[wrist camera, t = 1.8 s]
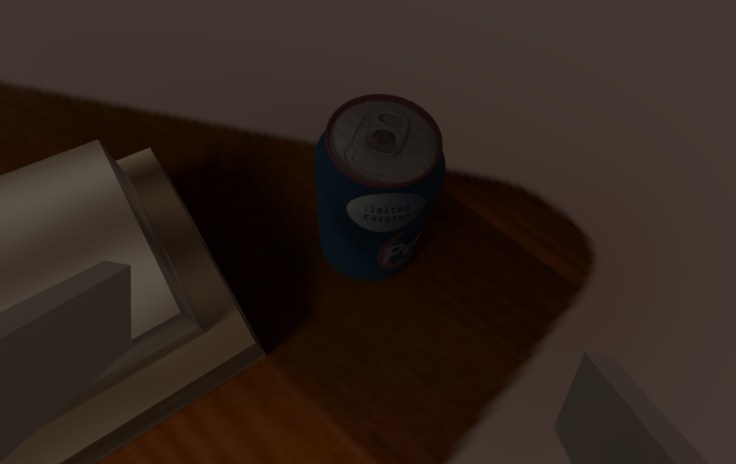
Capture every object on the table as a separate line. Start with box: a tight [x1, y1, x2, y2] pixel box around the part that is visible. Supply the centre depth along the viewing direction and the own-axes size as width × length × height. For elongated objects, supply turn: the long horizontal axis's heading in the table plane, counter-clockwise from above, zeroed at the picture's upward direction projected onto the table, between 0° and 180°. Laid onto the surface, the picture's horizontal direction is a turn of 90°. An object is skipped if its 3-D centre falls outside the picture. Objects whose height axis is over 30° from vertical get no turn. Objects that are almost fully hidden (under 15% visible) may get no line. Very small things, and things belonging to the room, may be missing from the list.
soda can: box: [314, 94, 445, 281], centre depth 24 cm, size 7×7×12 cm
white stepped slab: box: [0, 140, 267, 464], centre depth 21 cm, size 16×16×8 cm
